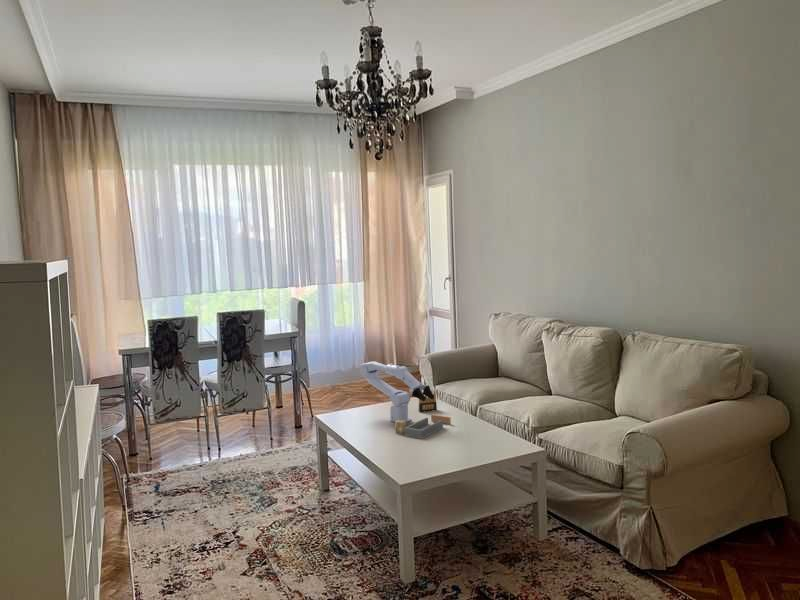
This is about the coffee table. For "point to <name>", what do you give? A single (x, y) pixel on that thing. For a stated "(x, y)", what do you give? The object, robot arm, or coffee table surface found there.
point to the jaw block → (400, 426)
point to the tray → (422, 428)
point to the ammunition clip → (428, 404)
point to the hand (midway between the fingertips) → (429, 399)
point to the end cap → (441, 418)
